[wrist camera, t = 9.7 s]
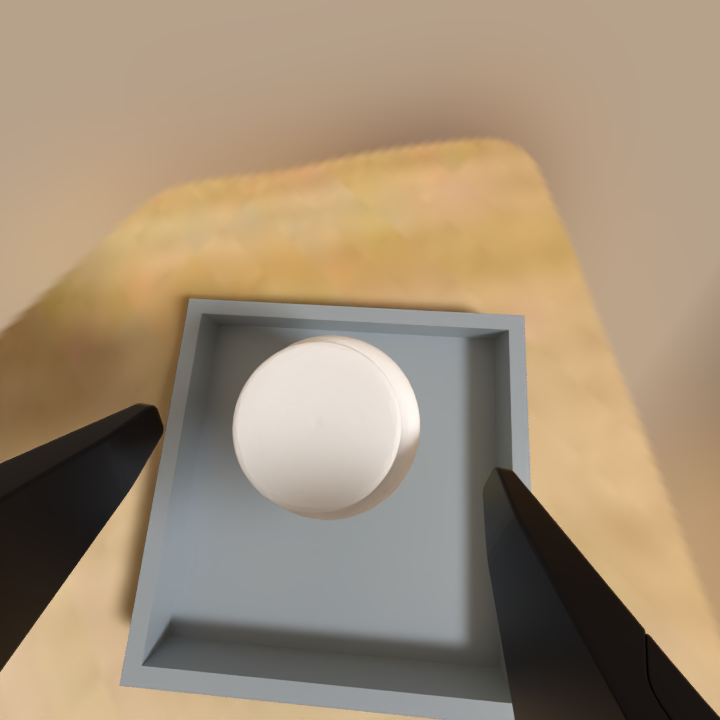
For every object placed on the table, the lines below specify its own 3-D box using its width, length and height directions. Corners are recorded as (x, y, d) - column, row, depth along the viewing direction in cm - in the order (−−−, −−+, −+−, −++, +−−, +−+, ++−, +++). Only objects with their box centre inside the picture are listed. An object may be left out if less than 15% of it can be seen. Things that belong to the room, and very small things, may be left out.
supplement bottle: (275, 426, 17) (144, 432, 7) (343, 352, 18) (310, 263, 8) (350, 499, 16) (321, 619, 6) (419, 418, 17) (489, 411, 7)
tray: (512, 680, 15) (539, 730, 13) (158, 645, 16) (119, 685, 13) (504, 329, 19) (524, 315, 16) (212, 314, 19) (189, 298, 17)
